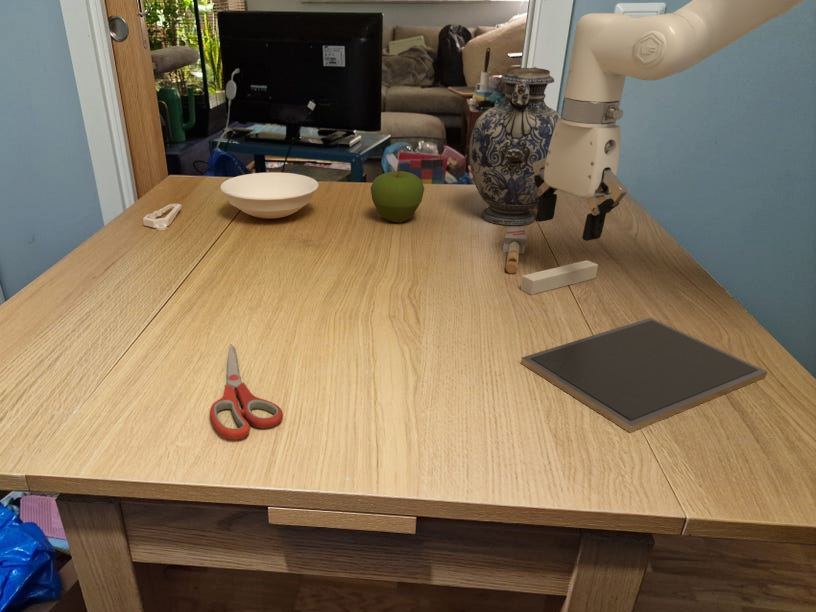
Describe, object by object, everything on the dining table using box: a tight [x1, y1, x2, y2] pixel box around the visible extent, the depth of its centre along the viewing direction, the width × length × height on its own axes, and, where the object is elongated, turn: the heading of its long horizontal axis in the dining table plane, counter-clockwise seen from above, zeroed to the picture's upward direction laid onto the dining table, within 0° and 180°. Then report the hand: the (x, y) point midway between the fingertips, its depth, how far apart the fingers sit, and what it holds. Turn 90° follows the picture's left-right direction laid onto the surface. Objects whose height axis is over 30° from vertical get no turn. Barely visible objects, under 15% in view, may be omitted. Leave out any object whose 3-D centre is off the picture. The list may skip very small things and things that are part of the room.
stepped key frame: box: [142, 203, 183, 232], centre depth 134 cm, size 13×5×2 cm, turn 176°
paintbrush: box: [502, 226, 528, 274], centre depth 117 cm, size 4×3×20 cm
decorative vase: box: [468, 66, 561, 227], centre depth 129 cm, size 21×19×28 cm
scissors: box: [209, 343, 284, 440], centre depth 78 cm, size 8×21×2 cm, turn 24°
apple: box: [370, 170, 425, 223], centre depth 132 cm, size 11×10×10 cm
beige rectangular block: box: [520, 259, 599, 296], centre depth 105 cm, size 14×2×2 cm, turn 119°
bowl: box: [219, 171, 319, 220], centre depth 136 cm, size 20×20×6 cm
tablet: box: [520, 317, 768, 433], centre depth 82 cm, size 24×17×1 cm
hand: (566, 229), depth 102 cm, fingers open, 9 cm apart
